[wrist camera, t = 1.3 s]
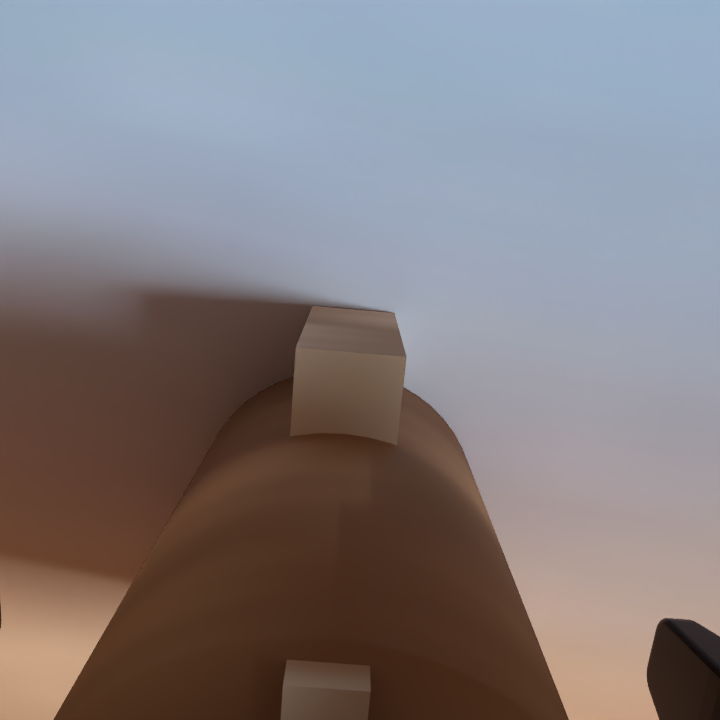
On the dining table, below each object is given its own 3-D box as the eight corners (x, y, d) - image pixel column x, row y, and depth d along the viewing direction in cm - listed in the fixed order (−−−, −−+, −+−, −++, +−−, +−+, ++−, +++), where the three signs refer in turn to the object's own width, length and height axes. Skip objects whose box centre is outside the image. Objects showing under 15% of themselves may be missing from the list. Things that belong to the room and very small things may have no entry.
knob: (198, 608, 13) (-6, 1133, 6) (206, 296, 11) (-60, 485, 4) (454, 627, 13) (571, 1167, 6) (498, 322, 11) (732, 546, 4)
